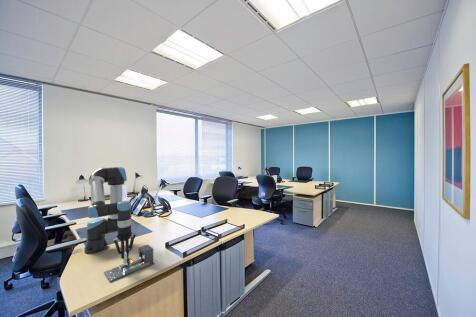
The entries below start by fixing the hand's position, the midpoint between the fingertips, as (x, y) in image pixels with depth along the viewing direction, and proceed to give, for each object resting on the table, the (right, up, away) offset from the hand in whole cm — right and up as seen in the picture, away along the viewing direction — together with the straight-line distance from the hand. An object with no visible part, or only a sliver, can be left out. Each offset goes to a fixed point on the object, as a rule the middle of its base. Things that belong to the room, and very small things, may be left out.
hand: (125, 262), depth 125 cm
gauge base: (+2, -5, +2) cm, 6 cm away
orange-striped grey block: (+5, -3, +5) cm, 8 cm away
